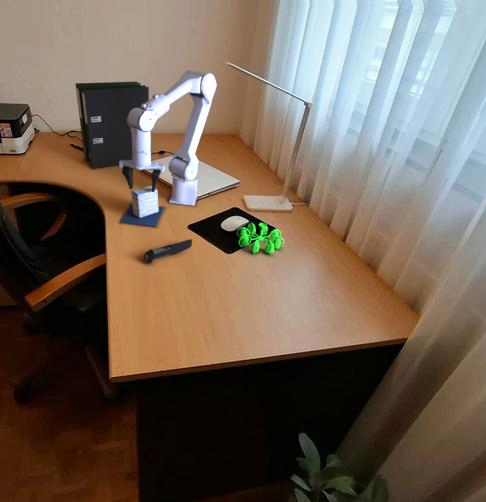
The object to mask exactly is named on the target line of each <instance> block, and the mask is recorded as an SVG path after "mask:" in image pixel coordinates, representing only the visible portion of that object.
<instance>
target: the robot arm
mask: <svg viewBox="0 0 486 502" xmlns="http://www.w3.org/2000/svg"><path fill="white" fill-rule="evenodd" d="M215 77H216V76H215V75H214V74H213V73H211V72H204V71H198V70H194V69H192V68H191V69H188V70H186V71H185V72H183V73H182V74H181V75H180V78H179V79H178V80H177V81H176V82H175V83H174V84H173V85H172V86H170V87H169V88H168V89H167V90H166V91H165V92H164V93H163V94H162V93H154V94H152V95H151V98H149V101H147V102H146V103H145V104H144V103H143V104H142V105H141V107H140V108H134V109H132V110H131V111H130V112H129V115H128V118H127V123H128V124H129V126H130V128H131V132H132V154H133V160H120V161H119V165H118V167H119V168H120V169H121V174H122V175H123V176H124V178H125V180H126V182H127V185H128V188H129V190H131V191H133V188H134V169H135V170H139V171H142V170H146V171H152V172H151V173H150V178H151V186H152V192H155V189H157V183H158V180H159V178H160V176H161V174H162V173H165V170H166V169H165V167H166V165H165V164H163V163H158V162H154V161H152V149H151V148H152V147H151V145H152V144H151V141H152V138H151V136H152V135H151V133H152V132H151V130H153V128H154V126H155V123H156V122H157V121H158V120H159V119H160V118H161V117H163V115H165V114H166V113H168V112H169V110H170V108H171V107H170V105H171V104H173V103H174V102H176V101H178V99H180V98H182V97H183V96H185V95H186V94H188V95H189V96H190V98H191V99H192V101H193V103H194V104H193V108H192V111H191V114H190V118H189V119H188V123H187V125H186V130H185V133H184V136H183V140H182V143H181V146H180V149H178V150H176V151H174V152H173V155H172V157H171V159H170V160H169V162H168V166H167V167H168V171H169V172H170V173H171V177H172V183H171V185H172V187H171V197H170V199H169V204H176V205H177V204H178V205H185V206H195V205H196V202H197V199H198V188H199V187H198V186H199V179H197V178H196V177H197V175H198V166H199V164H200V161H199V159H198V157H197V155H196V152H197V149H198V146H199V143H200V141H201V138H202V134H203V131H204V128H205V125H206V121H207V118H208V116H209V112H210V110H211V106H212V103H213V102H212V100H213V98H214V95H215V92H216V89H217V86H218V83H217V80H216V78H215Z"/></svg>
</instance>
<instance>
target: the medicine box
mask: <svg viewBox="0 0 486 502" xmlns="http://www.w3.org/2000/svg"><path fill="white" fill-rule="evenodd" d="M130 193H131V195H130V196H131V204H132V205H133V214H134V215H136V216H137V217H139V218H141V217H144V216H147V215H150V214H153V213H156V212H159V211H158V206H159V196H158V195H159V194H158V189H157V188H156V189H155V192H152V185H148V186H143V187H141V188H137V189H134V190H133V189H132V190H131V191H130Z"/></svg>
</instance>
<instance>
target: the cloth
mask: <svg viewBox="0 0 486 502" xmlns="http://www.w3.org/2000/svg"><path fill="white" fill-rule="evenodd" d="M164 209H165V206H159V205H158V211H159V212H156V213H153V214H150V215H147V216H144V217H141V218H139V217H137V216H136V215H134V214H133V205H132V203H131V204H130V206H129V207H128V209H127V211H126V212H125V214H124V215H123V217H122V218H121V220H120V224H126V225H134V226H135V225H136V226H142V227H151V228H156V227H157V224H158V223H159V220H160V218H161V216H162V214H163V212H164Z"/></svg>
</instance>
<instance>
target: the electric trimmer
mask: <svg viewBox="0 0 486 502" xmlns="http://www.w3.org/2000/svg"><path fill="white" fill-rule="evenodd" d="M192 245H193V240H192V238H189V239H185V240H183V241H178V242H175V243H172V244H167V245H163V246H160V247H156V248H153V249H149V250H148V251H145V252H144V254H143V256H142V258H143V261H144V262H145V263H146V264H151V263H153V261H155V260H158V259H160V258H163V257H166V256H169V255H178V254H180V253H182V252H184V251H186V250H188V249H190V248H192Z"/></svg>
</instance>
